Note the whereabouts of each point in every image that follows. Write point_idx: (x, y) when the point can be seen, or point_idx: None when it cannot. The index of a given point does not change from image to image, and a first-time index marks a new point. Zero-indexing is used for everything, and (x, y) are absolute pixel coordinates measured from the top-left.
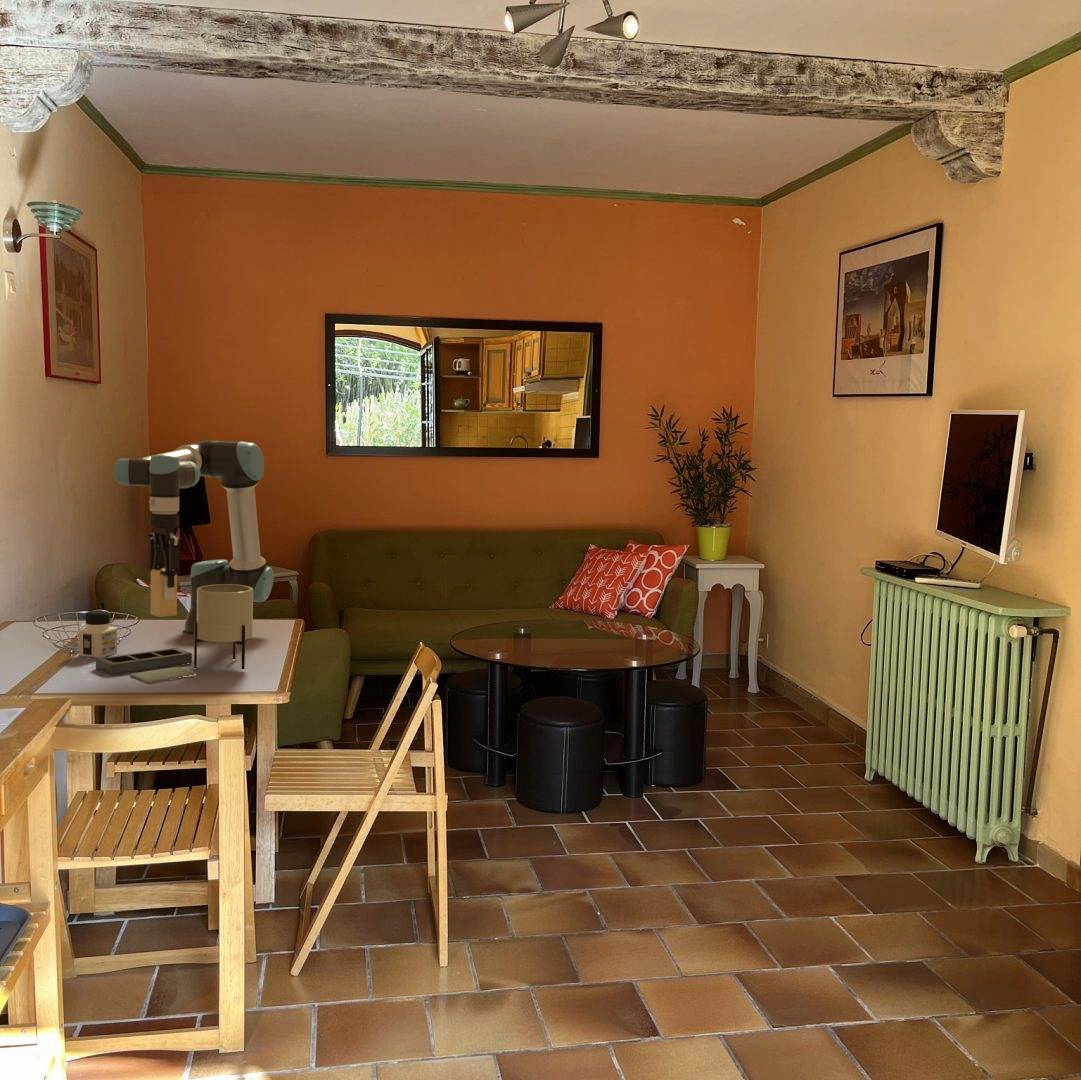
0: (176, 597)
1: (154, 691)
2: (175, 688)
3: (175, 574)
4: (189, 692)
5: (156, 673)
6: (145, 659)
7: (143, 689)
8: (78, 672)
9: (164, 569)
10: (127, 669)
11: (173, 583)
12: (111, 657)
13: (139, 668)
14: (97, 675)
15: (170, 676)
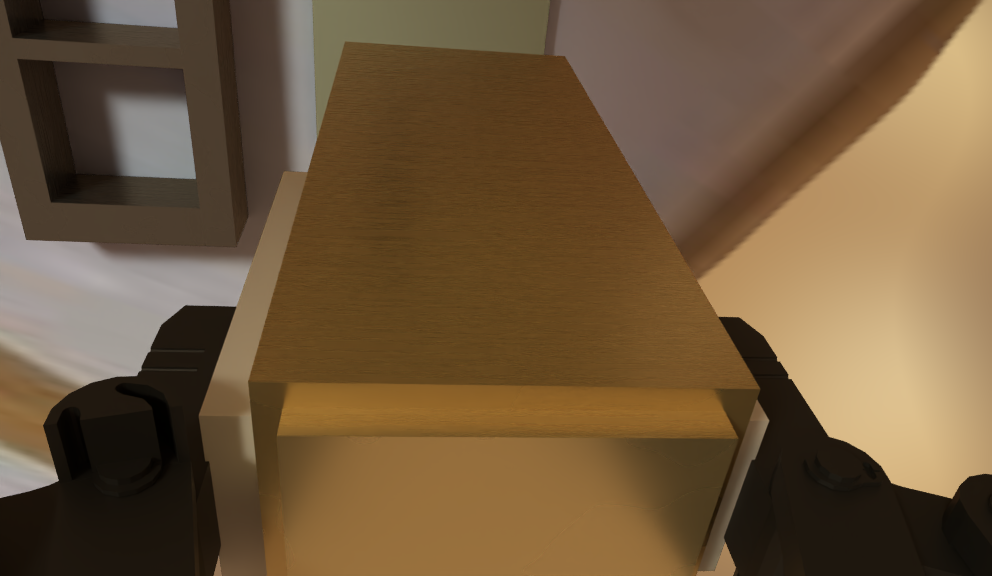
0: (606, 137)
1: (681, 204)
2: (716, 98)
3: (908, 489)
4: (833, 87)
5: (400, 30)
6: (204, 18)
7: None
8: (89, 299)
9: (478, 571)
10: (236, 131)
11: (774, 374)
12: (35, 159)
13: (230, 52)
14: (206, 260)
15: (520, 4)
